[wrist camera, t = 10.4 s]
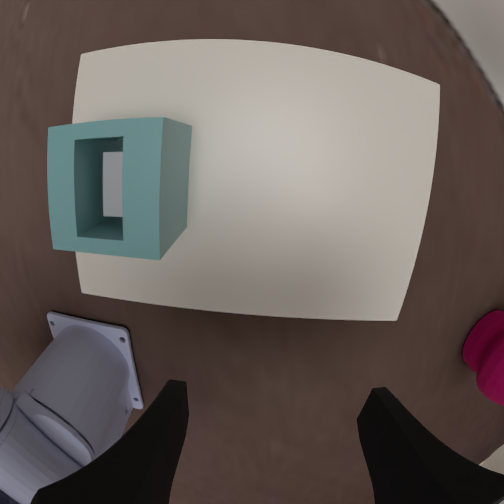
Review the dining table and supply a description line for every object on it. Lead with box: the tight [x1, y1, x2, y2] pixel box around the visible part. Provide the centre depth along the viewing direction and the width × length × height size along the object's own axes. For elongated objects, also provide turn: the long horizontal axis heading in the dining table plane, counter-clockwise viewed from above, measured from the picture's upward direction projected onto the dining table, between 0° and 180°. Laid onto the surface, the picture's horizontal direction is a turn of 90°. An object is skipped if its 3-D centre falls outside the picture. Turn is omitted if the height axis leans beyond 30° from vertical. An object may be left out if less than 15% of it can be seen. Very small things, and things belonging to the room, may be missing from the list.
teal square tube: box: [47, 117, 192, 260], centre depth 13 cm, size 6×6×5 cm
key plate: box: [72, 39, 440, 321], centre depth 14 cm, size 16×22×5 cm
